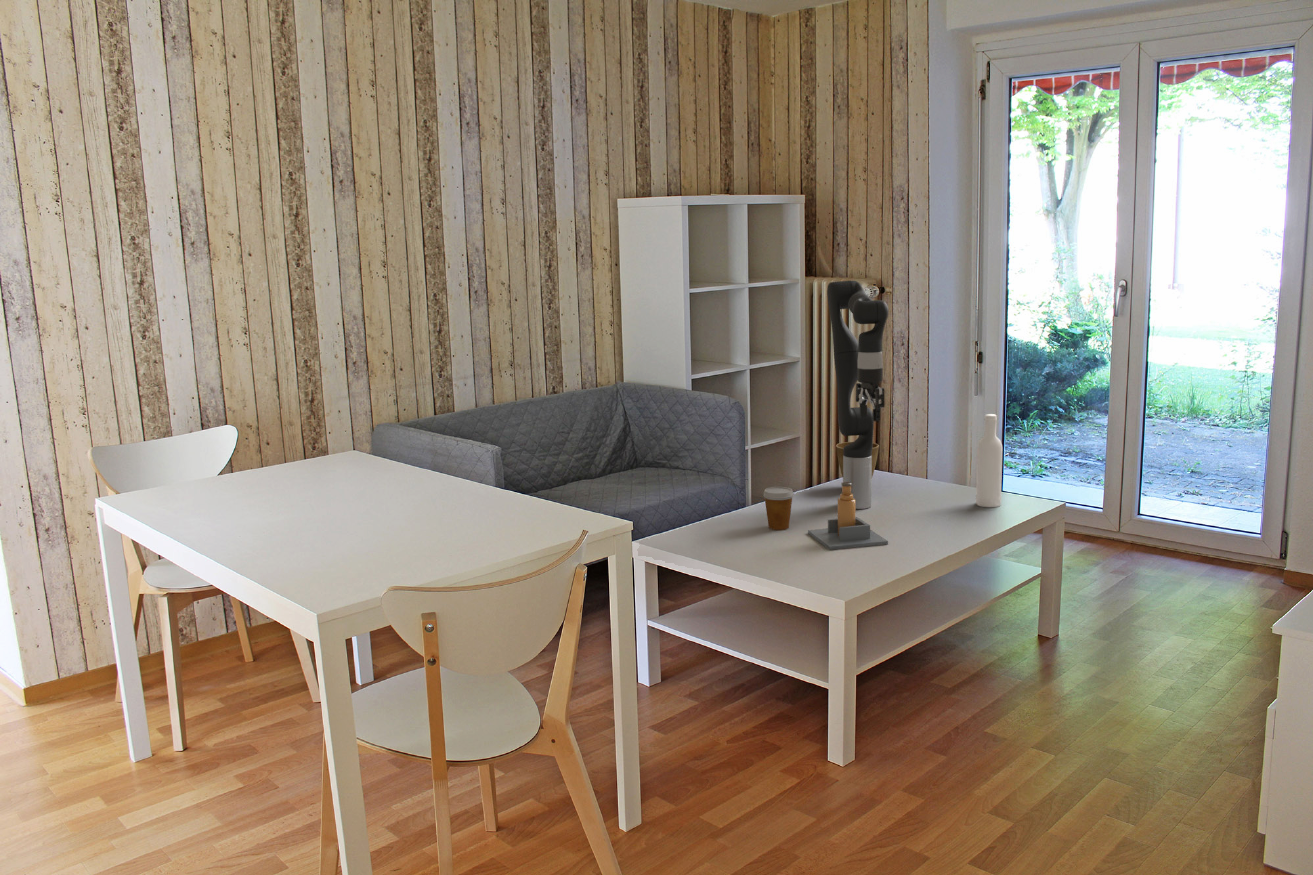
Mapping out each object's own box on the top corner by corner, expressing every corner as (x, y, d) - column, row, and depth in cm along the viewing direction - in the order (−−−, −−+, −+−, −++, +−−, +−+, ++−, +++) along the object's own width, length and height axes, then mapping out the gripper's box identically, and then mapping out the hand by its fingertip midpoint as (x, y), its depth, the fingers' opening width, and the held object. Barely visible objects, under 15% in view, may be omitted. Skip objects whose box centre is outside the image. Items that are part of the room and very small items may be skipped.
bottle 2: (1002, 507, 332) (1005, 417, 327) (977, 507, 334) (979, 417, 328) (999, 501, 340) (1002, 412, 334) (974, 501, 341) (977, 412, 336)
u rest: (829, 550, 294) (829, 533, 293) (807, 533, 311) (807, 517, 310) (888, 544, 297) (888, 527, 296) (863, 528, 314) (863, 512, 314)
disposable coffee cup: (800, 526, 319) (799, 489, 316) (782, 533, 312) (781, 495, 309) (775, 521, 325) (775, 485, 323) (757, 528, 318) (756, 490, 316)
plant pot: (887, 489, 361) (887, 445, 358) (855, 496, 353) (855, 451, 350) (859, 482, 373) (859, 439, 370) (827, 488, 366) (827, 444, 363)
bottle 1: (834, 534, 306) (834, 482, 303) (850, 532, 307) (850, 480, 304) (842, 538, 301) (842, 485, 298) (858, 536, 302) (858, 484, 299)
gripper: (892, 368, 305) (892, 421, 308) (870, 363, 318) (869, 414, 322) (869, 369, 303) (869, 423, 306) (848, 364, 317) (848, 416, 320)
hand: (869, 418), depth 314 cm, fingers open, 8 cm apart
